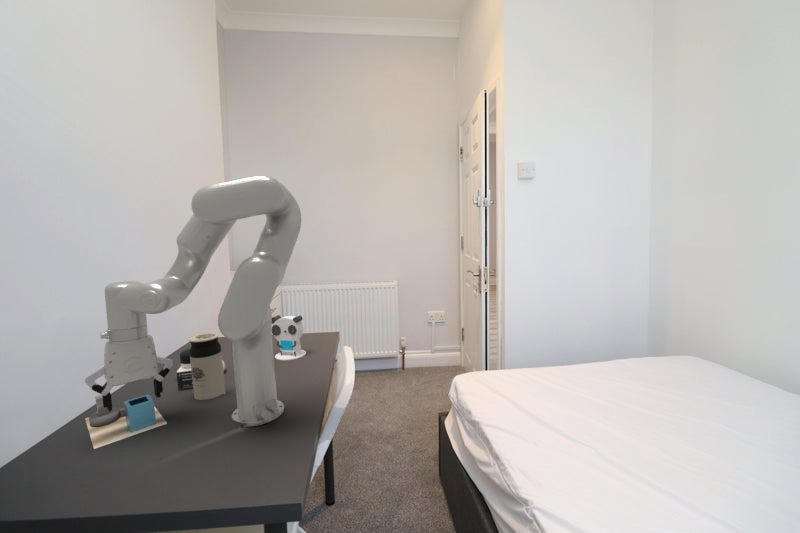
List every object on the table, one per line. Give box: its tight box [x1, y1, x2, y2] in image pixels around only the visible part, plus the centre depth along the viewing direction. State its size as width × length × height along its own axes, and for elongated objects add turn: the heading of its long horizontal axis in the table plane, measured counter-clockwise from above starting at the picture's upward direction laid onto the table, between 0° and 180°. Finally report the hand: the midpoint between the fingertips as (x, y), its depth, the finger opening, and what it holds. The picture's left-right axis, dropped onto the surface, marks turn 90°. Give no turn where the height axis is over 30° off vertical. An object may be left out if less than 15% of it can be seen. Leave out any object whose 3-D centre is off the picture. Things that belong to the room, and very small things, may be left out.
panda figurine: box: [272, 314, 307, 361], centre depth 140 cm, size 12×11×15 cm
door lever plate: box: [84, 394, 168, 450], centre depth 93 cm, size 20×14×8 cm
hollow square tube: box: [123, 394, 156, 432], centre depth 91 cm, size 5×5×6 cm
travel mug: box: [188, 332, 226, 401], centre depth 106 cm, size 8×8×18 cm
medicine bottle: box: [176, 348, 194, 392], centre depth 114 cm, size 7×7×12 cm
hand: (134, 402), depth 90 cm, fingers open, 9 cm apart
